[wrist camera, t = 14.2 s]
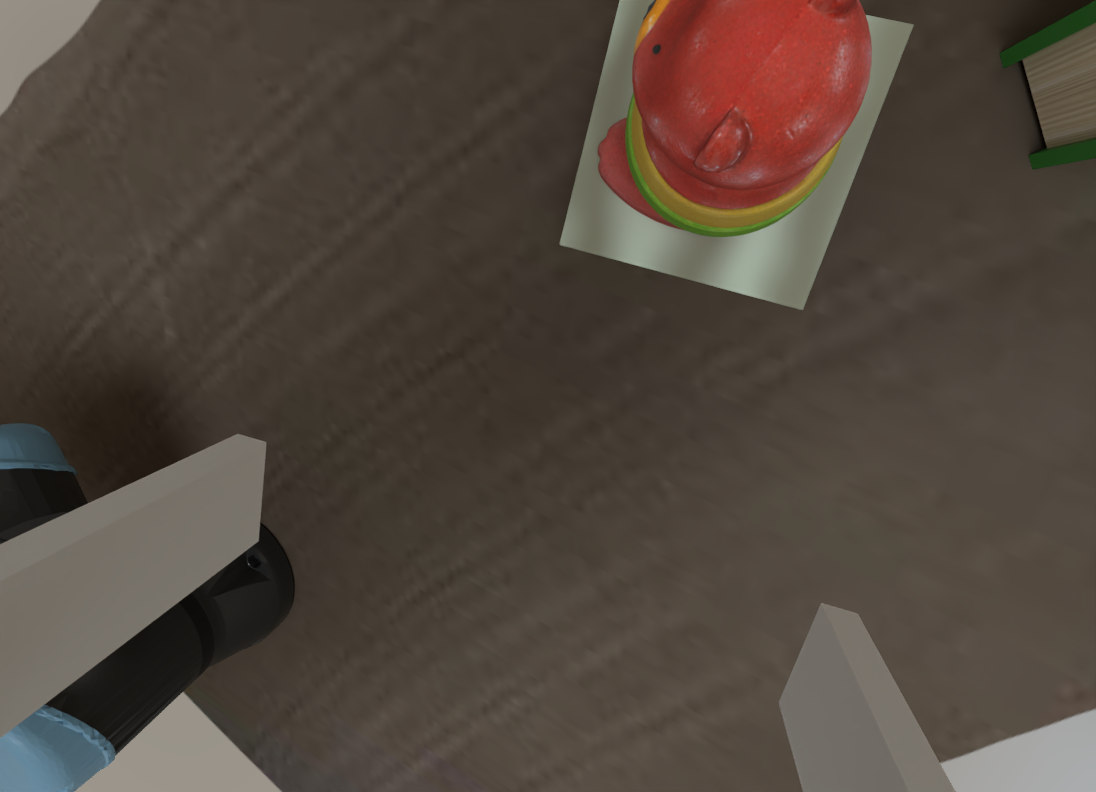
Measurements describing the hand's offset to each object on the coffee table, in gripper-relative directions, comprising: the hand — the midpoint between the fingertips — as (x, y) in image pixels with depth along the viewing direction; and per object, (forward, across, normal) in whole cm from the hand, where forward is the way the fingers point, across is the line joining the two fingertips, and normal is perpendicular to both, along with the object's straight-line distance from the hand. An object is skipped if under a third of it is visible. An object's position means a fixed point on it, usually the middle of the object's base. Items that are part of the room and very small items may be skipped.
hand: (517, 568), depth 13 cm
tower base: (+33, +4, +14) cm, 35 cm away
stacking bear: (+25, +3, +13) cm, 28 cm away
